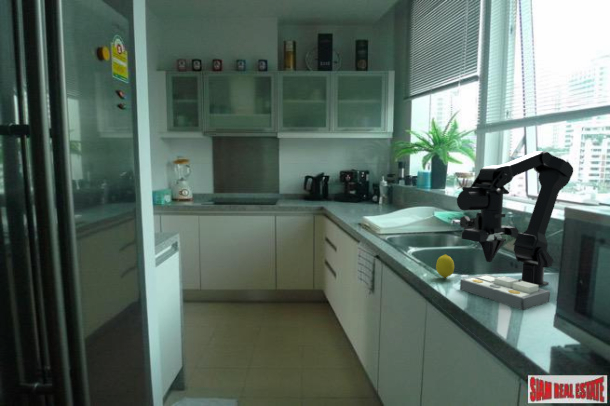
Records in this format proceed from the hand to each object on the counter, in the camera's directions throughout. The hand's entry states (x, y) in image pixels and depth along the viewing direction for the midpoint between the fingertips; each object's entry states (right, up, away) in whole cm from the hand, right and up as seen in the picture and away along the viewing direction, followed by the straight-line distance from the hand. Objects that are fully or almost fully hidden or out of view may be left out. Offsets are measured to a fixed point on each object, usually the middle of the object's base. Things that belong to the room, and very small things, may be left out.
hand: (488, 261), depth 112 cm
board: (+2, -9, -5) cm, 10 cm away
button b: (+3, -7, -4) cm, 8 cm away
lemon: (-9, -8, +12) cm, 17 cm away
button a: (0, -8, +1) cm, 8 cm away
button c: (+6, -7, -9) cm, 13 cm away
